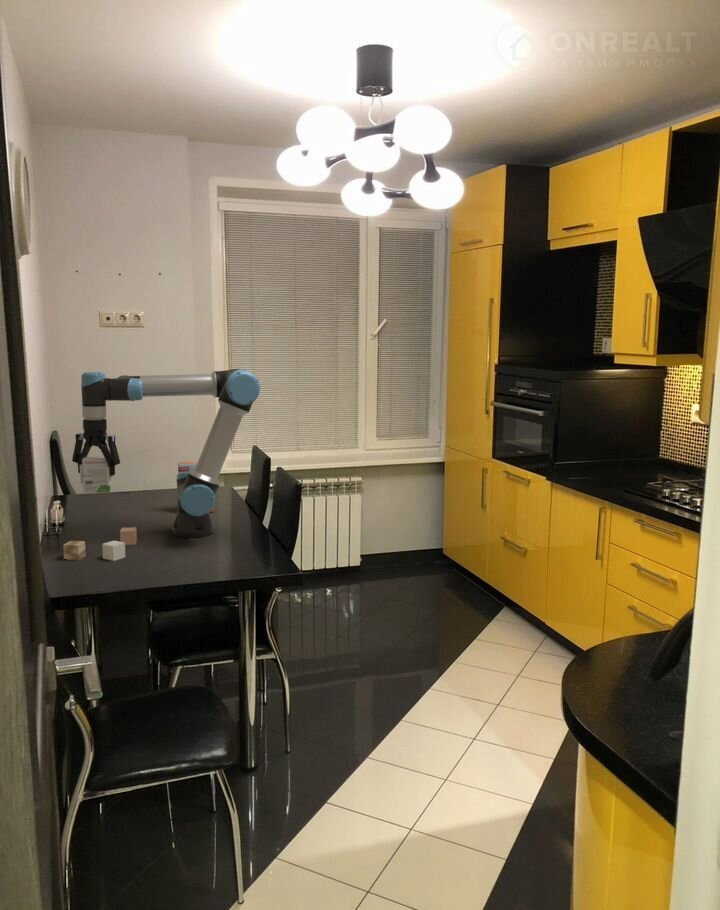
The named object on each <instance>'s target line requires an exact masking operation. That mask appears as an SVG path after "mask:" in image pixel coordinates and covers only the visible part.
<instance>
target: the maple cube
mask: <svg viewBox="0 0 720 910" xmlns="http://www.w3.org/2000/svg"><path fill="white" fill-rule="evenodd" d="M62 547H63V560H64V559H67V560H66V561H81V560H82V559H83V558H84V557H86V556H87V554H86V541H84V540H83V541H82V540H70V541H68V542H66V543H64V544H63V545H62Z"/></svg>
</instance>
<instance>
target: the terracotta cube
mask: <svg viewBox="0 0 720 910" xmlns="http://www.w3.org/2000/svg"><path fill="white" fill-rule="evenodd" d="M137 530H138V529H137V527H134V526H133V527H121V529H120V530H119V537H120V538H119V539H120V541H119V542H123V543H125V546H128V545H129V546H131V545H133V546H134V545H135V546H136V544H137V540H138V536H137Z"/></svg>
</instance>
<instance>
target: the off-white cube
mask: <svg viewBox="0 0 720 910" xmlns="http://www.w3.org/2000/svg"><path fill="white" fill-rule="evenodd" d="M101 545H102V559H104V560H108V561H113V562H115V561H118V560H121V559H124V558H126V545H125V543H123V542H120V541H118V540H112V541H111V540H110V541H108V542H104V543H102V544H101Z"/></svg>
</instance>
